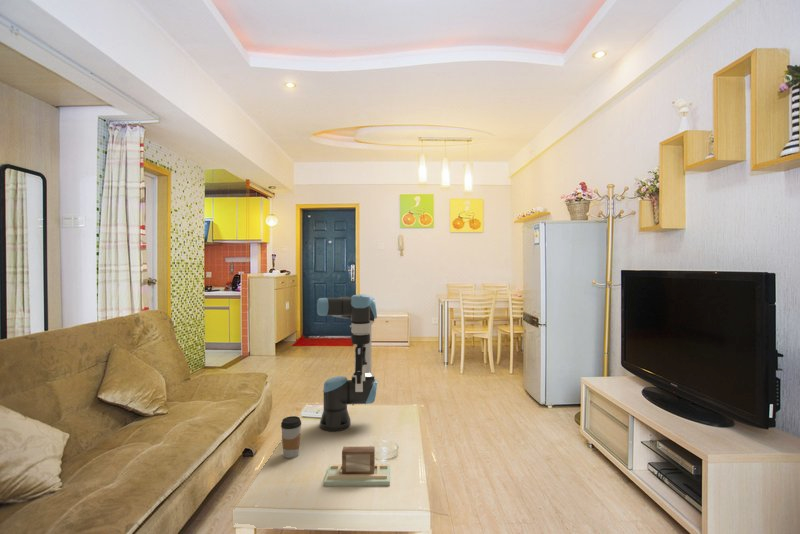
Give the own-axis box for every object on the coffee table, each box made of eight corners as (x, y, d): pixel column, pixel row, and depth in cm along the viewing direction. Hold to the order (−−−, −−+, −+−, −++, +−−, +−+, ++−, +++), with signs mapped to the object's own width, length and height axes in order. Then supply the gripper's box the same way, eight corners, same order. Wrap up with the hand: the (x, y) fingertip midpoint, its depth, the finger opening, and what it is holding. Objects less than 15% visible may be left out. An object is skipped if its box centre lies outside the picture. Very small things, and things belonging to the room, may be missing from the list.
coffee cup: (295, 460, 159) (295, 424, 159) (277, 458, 161) (277, 422, 161) (304, 451, 168) (304, 416, 167) (287, 449, 169) (286, 415, 169)
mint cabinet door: (329, 468, 153) (329, 461, 153) (390, 468, 154) (390, 460, 154) (324, 485, 141) (323, 477, 141) (389, 485, 142) (389, 477, 142)
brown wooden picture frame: (343, 469, 150) (343, 446, 150) (374, 469, 150) (374, 446, 150) (342, 475, 146) (342, 451, 145) (374, 475, 146) (374, 451, 146)
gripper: (354, 328, 168) (354, 376, 169) (347, 339, 144) (347, 396, 144) (371, 328, 169) (371, 376, 169) (367, 339, 144) (367, 396, 144)
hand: (360, 386), depth 156 cm, fingers open, 13 cm apart
